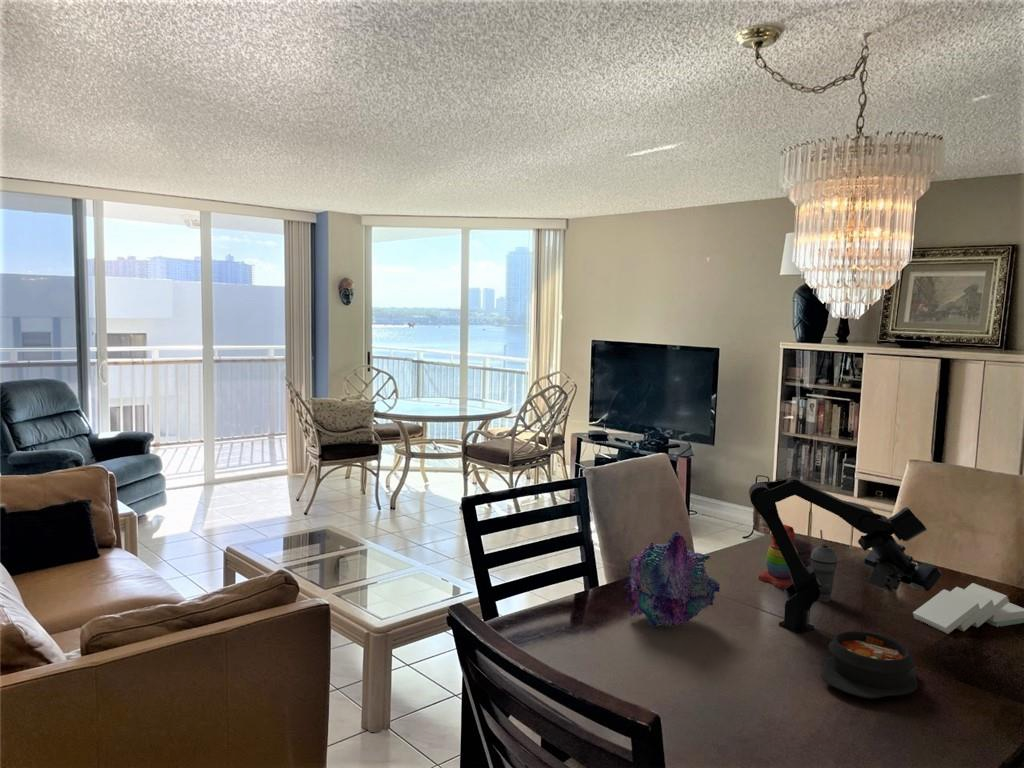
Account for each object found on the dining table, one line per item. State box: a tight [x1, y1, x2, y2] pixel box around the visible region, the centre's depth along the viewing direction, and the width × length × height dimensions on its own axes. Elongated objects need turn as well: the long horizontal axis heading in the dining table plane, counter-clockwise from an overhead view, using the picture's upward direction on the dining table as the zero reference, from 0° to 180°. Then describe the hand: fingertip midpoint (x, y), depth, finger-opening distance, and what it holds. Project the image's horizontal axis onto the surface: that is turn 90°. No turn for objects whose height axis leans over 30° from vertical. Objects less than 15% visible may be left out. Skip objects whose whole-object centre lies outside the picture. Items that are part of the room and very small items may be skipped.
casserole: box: [820, 630, 919, 700], centre depth 155 cm, size 25×19×8 cm
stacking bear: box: [758, 524, 799, 589], centre depth 216 cm, size 11×10×18 cm
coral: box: [623, 530, 721, 628], centre depth 183 cm, size 25×21×25 cm
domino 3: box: [964, 582, 1010, 628], centre depth 190 cm, size 2×10×12 cm
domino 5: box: [984, 618, 1024, 628], centre depth 193 cm, size 2×10×12 cm
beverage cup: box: [809, 529, 839, 603], centre depth 203 cm, size 7×7×20 cm
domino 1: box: [912, 589, 980, 635], centre depth 187 cm, size 2×10×12 cm
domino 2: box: [950, 586, 994, 632], centre depth 188 cm, size 2×10×12 cm
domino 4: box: [988, 601, 1024, 622], centre depth 192 cm, size 2×10×12 cm
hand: (916, 587), depth 182 cm, fingers closed
